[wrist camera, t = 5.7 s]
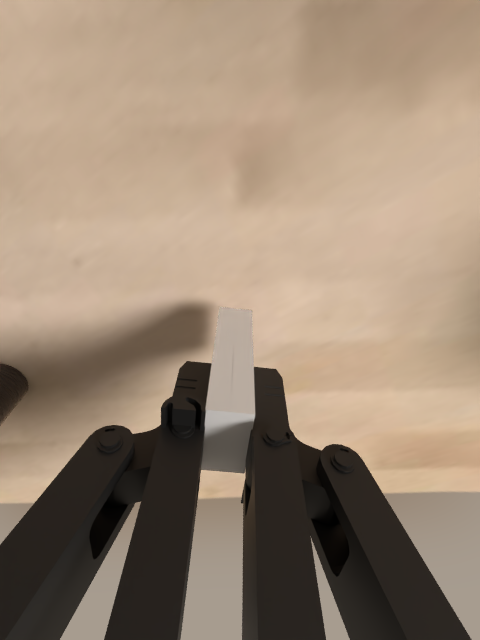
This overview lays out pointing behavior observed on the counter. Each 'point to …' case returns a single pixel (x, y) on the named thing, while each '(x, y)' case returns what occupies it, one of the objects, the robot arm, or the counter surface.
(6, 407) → the post
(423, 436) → the counter surface
